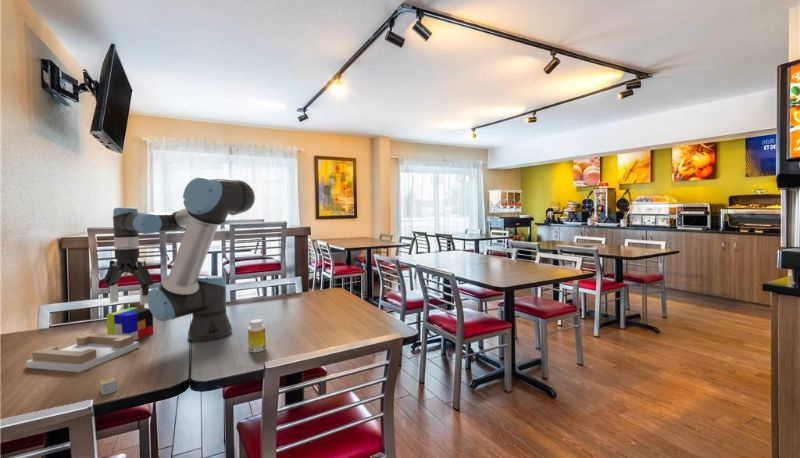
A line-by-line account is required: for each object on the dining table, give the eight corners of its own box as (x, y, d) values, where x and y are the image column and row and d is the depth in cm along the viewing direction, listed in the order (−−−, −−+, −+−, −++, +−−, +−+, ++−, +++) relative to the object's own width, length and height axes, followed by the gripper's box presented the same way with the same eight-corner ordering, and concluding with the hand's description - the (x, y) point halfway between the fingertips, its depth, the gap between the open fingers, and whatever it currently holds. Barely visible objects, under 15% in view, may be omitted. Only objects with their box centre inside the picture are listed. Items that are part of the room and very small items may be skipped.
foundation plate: (138, 347, 128) (138, 335, 128) (79, 372, 108) (78, 357, 108) (92, 344, 132) (91, 331, 131) (26, 367, 112) (25, 353, 112)
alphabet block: (102, 395, 95) (102, 384, 94) (100, 391, 97) (99, 380, 97) (117, 391, 97) (116, 380, 97) (114, 387, 99) (114, 376, 99)
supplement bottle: (266, 351, 124) (265, 321, 123) (249, 354, 121) (248, 324, 121) (264, 345, 129) (264, 317, 128) (248, 348, 126) (247, 319, 126)
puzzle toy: (129, 342, 133) (128, 315, 133) (107, 340, 135) (106, 314, 135) (153, 333, 143) (152, 308, 143) (132, 331, 145) (131, 307, 145)
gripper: (163, 247, 139) (165, 302, 140) (109, 246, 143) (111, 298, 145) (146, 249, 131) (148, 307, 133) (89, 248, 136) (92, 303, 137)
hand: (129, 303), depth 139 cm, fingers open, 13 cm apart
